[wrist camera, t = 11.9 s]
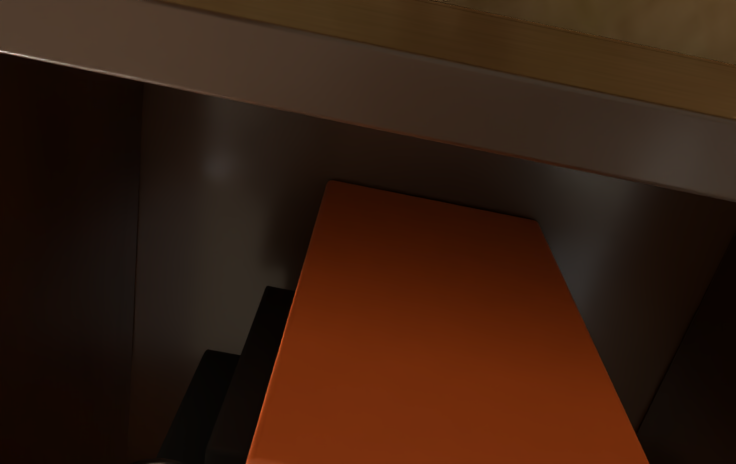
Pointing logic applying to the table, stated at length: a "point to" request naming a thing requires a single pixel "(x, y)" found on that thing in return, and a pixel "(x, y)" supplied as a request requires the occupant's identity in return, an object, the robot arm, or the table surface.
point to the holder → (349, 165)
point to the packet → (435, 345)
